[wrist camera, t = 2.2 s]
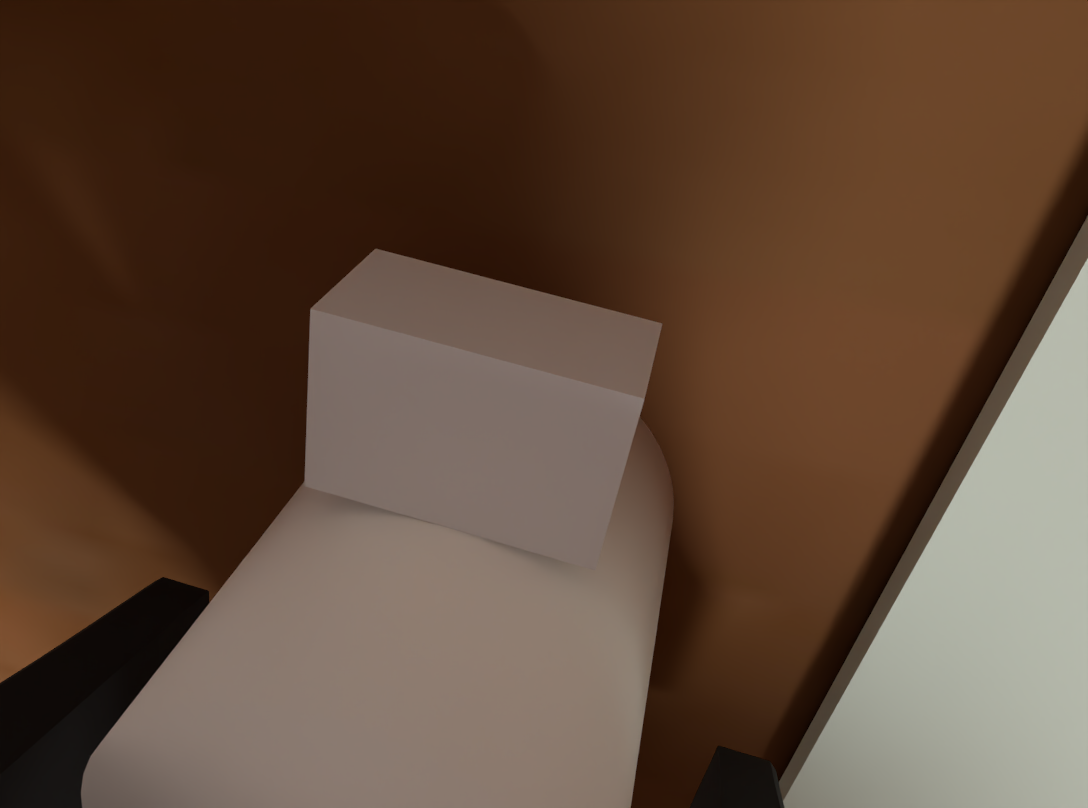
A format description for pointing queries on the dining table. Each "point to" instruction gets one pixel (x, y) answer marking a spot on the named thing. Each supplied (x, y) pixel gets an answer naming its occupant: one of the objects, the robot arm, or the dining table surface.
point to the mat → (980, 609)
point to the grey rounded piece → (430, 572)
